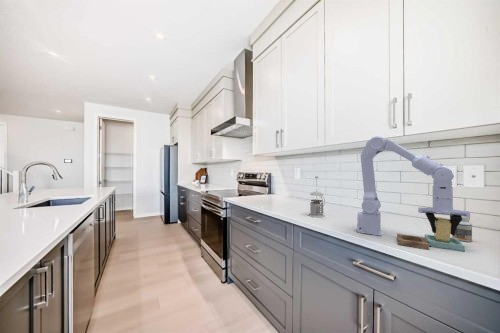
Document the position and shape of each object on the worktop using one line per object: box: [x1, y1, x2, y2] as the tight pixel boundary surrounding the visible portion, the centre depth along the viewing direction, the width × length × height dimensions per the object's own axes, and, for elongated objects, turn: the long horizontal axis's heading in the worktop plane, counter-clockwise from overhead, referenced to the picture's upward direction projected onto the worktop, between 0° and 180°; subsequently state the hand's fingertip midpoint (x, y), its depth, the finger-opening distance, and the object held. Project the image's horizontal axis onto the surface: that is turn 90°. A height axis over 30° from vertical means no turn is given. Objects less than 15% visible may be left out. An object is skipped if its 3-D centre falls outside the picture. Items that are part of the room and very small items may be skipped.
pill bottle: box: [451, 216, 473, 243], centre depth 85 cm, size 6×6×10 cm
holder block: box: [396, 233, 430, 251], centre depth 80 cm, size 9×9×2 cm
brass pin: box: [433, 216, 452, 243], centre depth 79 cm, size 5×5×9 cm
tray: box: [424, 233, 466, 252], centre depth 79 cm, size 10×10×2 cm
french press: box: [308, 176, 326, 219], centre depth 129 cm, size 10×12×25 cm
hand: (442, 233), depth 79 cm, fingers closed on brass pin, 5 cm apart
